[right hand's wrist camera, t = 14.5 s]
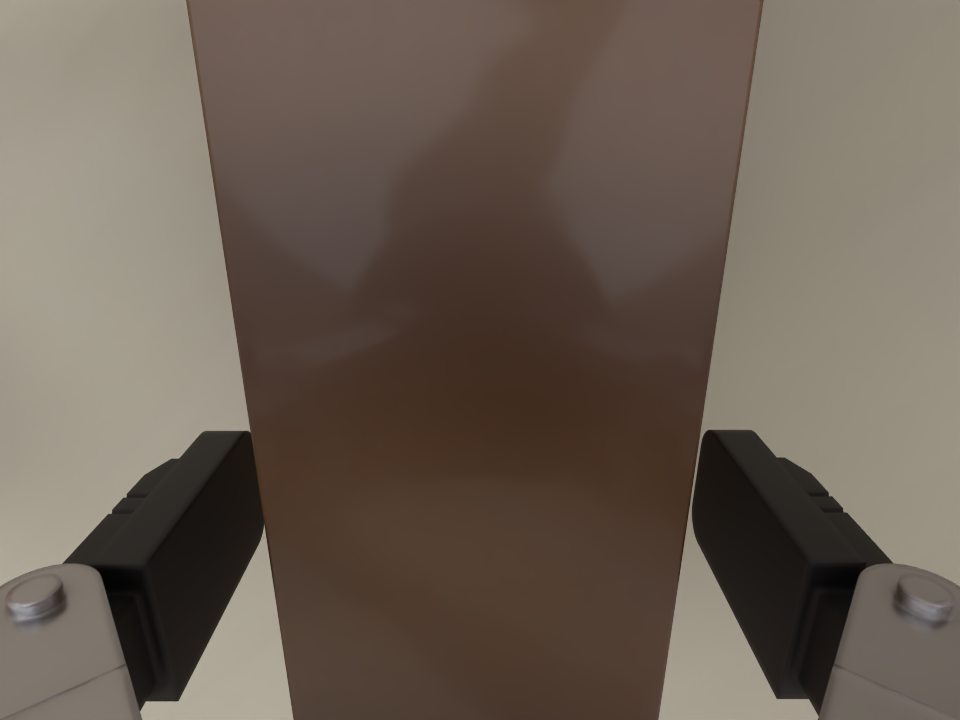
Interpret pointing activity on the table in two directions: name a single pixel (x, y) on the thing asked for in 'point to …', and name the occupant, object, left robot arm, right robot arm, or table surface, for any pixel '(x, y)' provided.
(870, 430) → the table surface
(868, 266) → the table surface
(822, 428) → the table surface
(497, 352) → the box
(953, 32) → the table surface
